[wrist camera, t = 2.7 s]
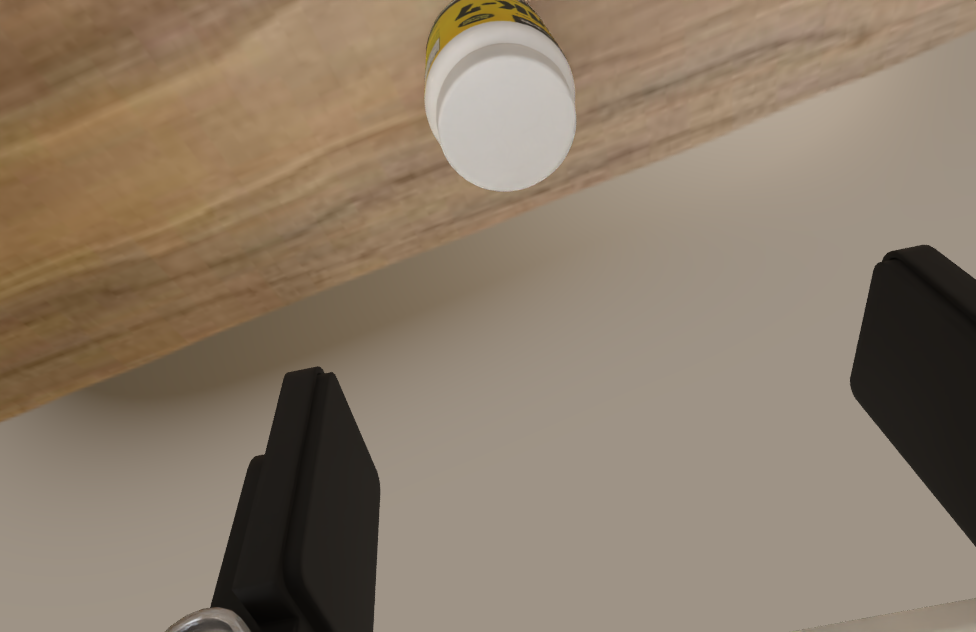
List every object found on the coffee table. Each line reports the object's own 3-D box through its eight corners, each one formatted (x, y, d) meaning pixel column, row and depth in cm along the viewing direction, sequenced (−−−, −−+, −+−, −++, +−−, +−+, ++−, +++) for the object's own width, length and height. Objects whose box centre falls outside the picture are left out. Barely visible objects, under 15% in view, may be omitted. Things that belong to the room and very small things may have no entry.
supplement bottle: (562, 3, 24) (615, 62, 17) (530, 124, 27) (565, 217, 20) (436, -28, 23) (440, 22, 16) (415, 101, 26) (412, 190, 19)
